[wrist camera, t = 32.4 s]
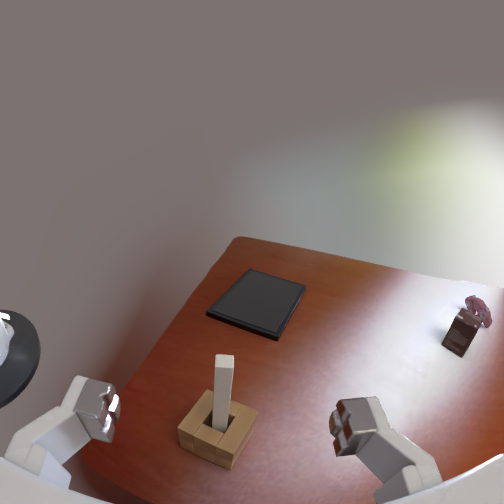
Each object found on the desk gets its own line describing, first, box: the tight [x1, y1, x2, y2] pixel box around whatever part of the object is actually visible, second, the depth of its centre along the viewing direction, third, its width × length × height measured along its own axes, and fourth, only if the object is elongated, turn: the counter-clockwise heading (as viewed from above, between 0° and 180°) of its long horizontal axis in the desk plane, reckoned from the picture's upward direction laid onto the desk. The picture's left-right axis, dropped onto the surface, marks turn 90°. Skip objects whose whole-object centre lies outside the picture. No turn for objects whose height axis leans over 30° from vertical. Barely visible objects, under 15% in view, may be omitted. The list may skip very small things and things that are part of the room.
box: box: [442, 308, 482, 357], centre depth 48 cm, size 6×6×7 cm
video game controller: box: [465, 295, 492, 327], centre depth 59 cm, size 10×5×7 cm
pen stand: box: [177, 390, 258, 470], centre depth 30 cm, size 7×7×5 cm
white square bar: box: [212, 354, 234, 434], centre depth 28 cm, size 2×2×15 cm
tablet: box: [206, 269, 306, 341], centre depth 60 cm, size 20×14×1 cm
